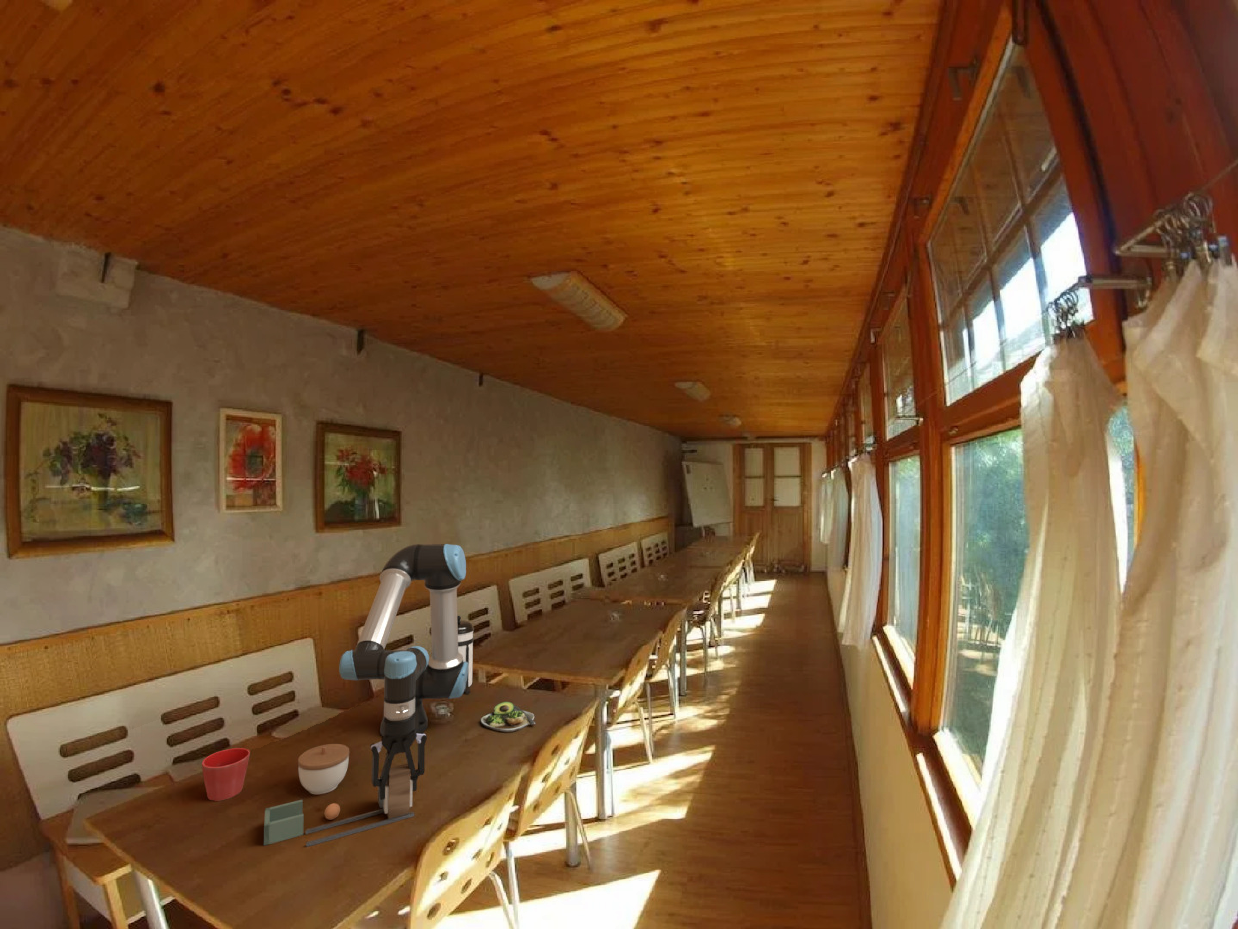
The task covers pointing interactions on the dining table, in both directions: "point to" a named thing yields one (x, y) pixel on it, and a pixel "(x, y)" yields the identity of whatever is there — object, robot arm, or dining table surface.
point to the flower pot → (225, 773)
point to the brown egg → (332, 811)
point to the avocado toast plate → (507, 718)
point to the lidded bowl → (323, 767)
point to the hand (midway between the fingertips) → (397, 807)
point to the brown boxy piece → (398, 791)
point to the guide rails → (355, 828)
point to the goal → (283, 822)
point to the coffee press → (466, 647)
